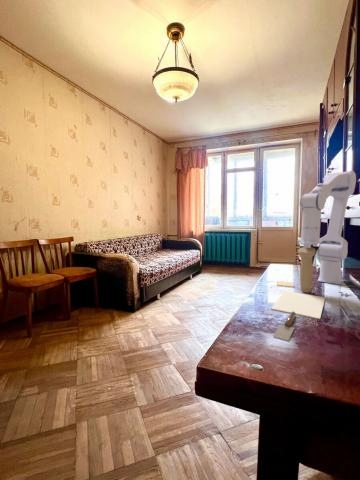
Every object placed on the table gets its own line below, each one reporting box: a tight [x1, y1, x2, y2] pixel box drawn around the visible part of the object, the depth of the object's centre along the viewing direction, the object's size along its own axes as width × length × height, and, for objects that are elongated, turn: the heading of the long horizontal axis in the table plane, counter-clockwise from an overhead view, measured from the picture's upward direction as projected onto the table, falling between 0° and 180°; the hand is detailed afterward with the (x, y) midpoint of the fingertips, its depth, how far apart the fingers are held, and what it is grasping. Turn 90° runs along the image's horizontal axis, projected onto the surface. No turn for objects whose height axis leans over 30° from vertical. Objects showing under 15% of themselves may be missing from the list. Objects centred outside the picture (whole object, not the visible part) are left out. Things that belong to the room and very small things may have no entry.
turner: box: [273, 312, 297, 342], centre depth 58 cm, size 15×3×1 cm, turn 146°
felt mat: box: [270, 290, 326, 320], centre depth 74 cm, size 20×12×1 cm, turn 146°
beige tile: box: [275, 280, 295, 288], centre depth 95 cm, size 6×6×1 cm
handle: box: [297, 247, 316, 294], centre depth 84 cm, size 5×6×15 cm
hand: (308, 266), depth 87 cm, fingers closed
